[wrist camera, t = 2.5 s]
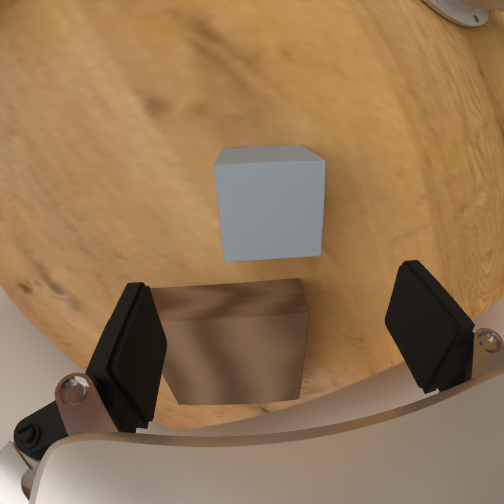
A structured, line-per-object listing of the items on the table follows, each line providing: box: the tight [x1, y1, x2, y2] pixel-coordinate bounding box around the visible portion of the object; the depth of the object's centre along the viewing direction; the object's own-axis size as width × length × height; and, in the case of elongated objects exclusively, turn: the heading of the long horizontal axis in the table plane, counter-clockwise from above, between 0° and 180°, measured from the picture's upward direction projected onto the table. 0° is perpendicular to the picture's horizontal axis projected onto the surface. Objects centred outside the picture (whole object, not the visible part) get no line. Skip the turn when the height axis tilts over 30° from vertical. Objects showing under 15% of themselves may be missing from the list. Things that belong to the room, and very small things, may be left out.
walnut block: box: [150, 278, 309, 405], centre depth 27 cm, size 14×14×5 cm
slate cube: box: [214, 145, 325, 262], centre depth 18 cm, size 6×6×6 cm
